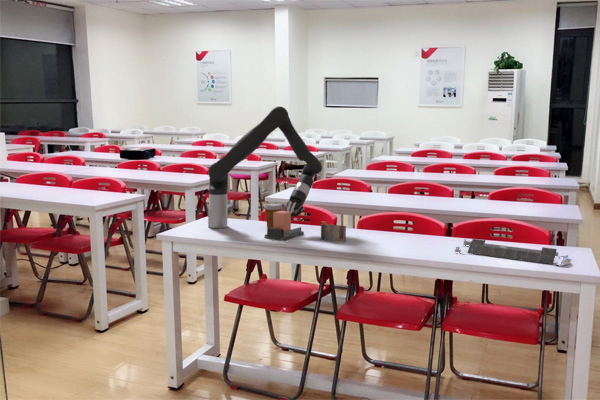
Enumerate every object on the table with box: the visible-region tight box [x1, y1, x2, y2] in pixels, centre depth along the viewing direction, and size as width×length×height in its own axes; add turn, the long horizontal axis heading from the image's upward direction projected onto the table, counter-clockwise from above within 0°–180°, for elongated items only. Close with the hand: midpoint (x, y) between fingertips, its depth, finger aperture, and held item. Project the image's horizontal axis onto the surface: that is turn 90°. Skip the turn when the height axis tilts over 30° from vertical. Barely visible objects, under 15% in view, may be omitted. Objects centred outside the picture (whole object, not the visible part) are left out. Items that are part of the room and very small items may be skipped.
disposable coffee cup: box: [263, 202, 283, 228], centre depth 299 cm, size 10×10×12 cm
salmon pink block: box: [273, 210, 292, 232], centre depth 275 cm, size 6×6×10 cm
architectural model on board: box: [320, 220, 347, 243], centre depth 269 cm, size 11×3×10 cm, turn 68°
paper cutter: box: [454, 238, 570, 267], centre depth 244 cm, size 18×45×6 cm, turn 59°
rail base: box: [264, 226, 305, 242], centre depth 277 cm, size 17×11×5 cm, turn 147°
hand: (286, 221), depth 278 cm, fingers closed
